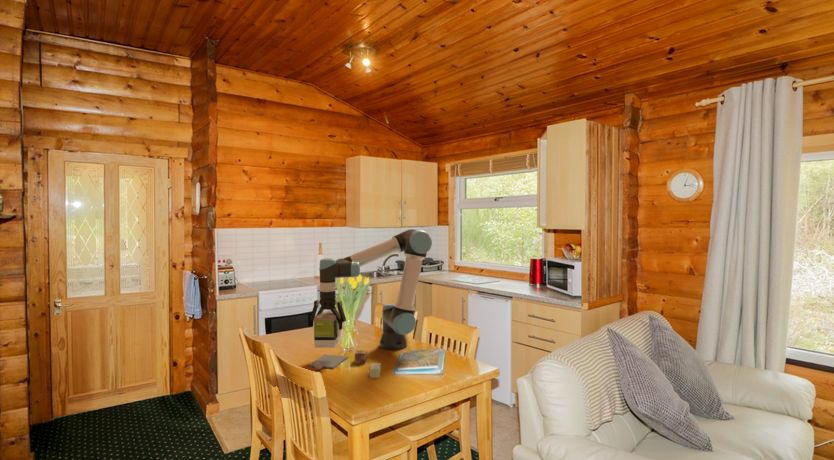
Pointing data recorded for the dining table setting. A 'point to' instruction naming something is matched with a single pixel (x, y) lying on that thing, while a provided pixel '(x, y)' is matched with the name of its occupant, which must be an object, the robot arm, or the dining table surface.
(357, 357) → the walnut cube
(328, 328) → the tea box
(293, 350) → the dining table surface
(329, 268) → the robot arm
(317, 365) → the grey rubber ball
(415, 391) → the dining table surface
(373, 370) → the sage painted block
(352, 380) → the dining table surface
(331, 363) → the slate trivet
